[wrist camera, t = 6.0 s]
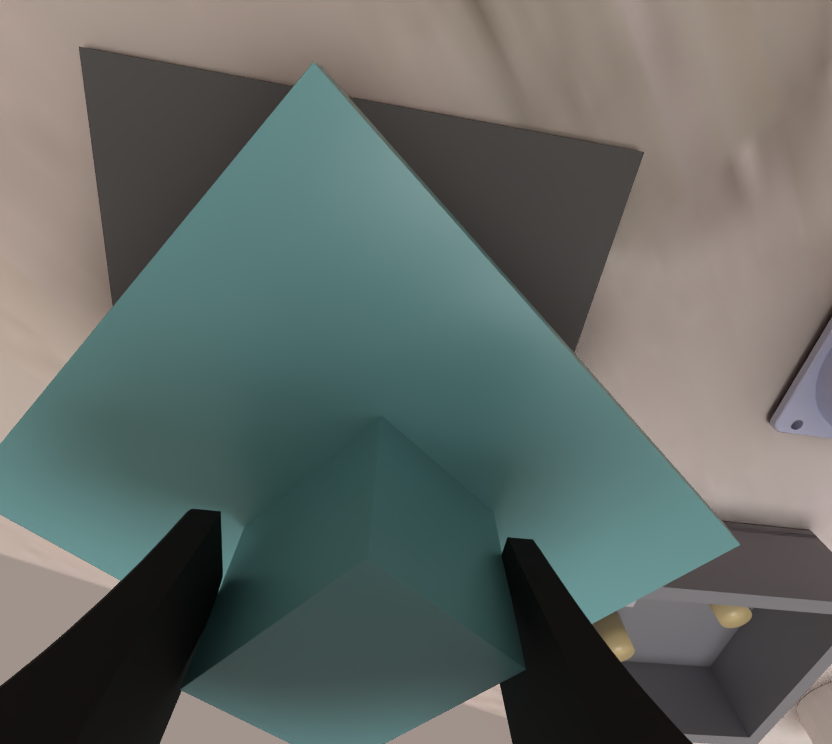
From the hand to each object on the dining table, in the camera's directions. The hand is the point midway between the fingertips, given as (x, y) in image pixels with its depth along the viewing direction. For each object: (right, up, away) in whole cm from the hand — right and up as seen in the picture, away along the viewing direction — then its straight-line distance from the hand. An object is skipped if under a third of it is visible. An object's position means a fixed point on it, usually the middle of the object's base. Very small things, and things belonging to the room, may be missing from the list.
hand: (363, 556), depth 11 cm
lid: (0, +1, +3) cm, 3 cm away
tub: (+14, -9, +17) cm, 24 cm away
